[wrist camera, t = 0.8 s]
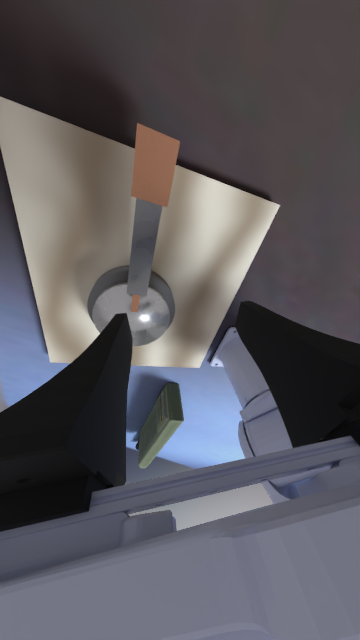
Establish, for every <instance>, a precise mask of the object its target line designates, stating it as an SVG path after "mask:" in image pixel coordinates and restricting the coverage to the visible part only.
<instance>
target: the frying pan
mask: <svg viewBox="0 0 360 640" xmlns="http://www.w3.org/2000/svg"><path fill="white" fill-rule="evenodd" d="M179 145H180V141H178V140H176V139H173V138H171V137H169V136H166V135H164V134H162V133H160V132H157V131H155V130H153V129H150V128H148V127H146V126H143V125H141V124H139V123H137V131H136V143H135V154H134V166H133V177H132V189H131V196H132V197H135V198H136V205H135V215H134V225H133V235H132V245H131V254H130V264H129V274H128V281H121V282H117V283H114V284H112V285H110V286H108V287H107V288H105V289H104V290H103V291H102V292H101V293H100V295H99V296H98V298H97V300H96V302H95V305H94V307H93V311H92V318H93V322H94V325H95V327H96V329H97V330H98V331H99V332H100V333H101V332H102V331H103V329H104V328H105V327H106V326H107V324H108V323H109V322H110V321H111V319H112V318H113V317H114V316H115V314H119V313H127V317H128V321H129V325H130V329H131V334H132V338H133V346H142V345H146V344H149V343H151V342H153V341H155V340H157V339H158V338H160V337H161V336H162V335H163V334H164V333H165V331H166V330H167V328H168V325H169V322H170V312H169V307H168V304H167V301H166V299H165V298H164V296H163V295H162V294H161V293H160V292H159V291H158V290H157V289H156V288H154V287H153V286H151V285H149V280H150V274H151V268H152V263H153V257H154V251H155V246H156V240H157V234H158V229H159V223H160V217H161V212H162V206H164V207H168V203H169V197H170V192H171V187H172V182H173V176H174V171H175V166H176V161H177V155H178V150H179Z"/></svg>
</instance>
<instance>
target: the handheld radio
mask: <svg viewBox="0 0 360 640" xmlns="http://www.w3.org/2000/svg"><path fill="white" fill-rule="evenodd" d="M183 421H184V417H183V410H182V403H181V396H180V389H179V384H178V383H167V384H166V385H165V386H164V388H163V390H162V392H161V393H160V395H159V397H158V399H157V401H156V403H155V405H154V407H153V409H152V410H151V412H150V414H149V416H148V418H147V419H146V421H145V423H144V425H143V427H142V429H141V430H140V439H139V441H138V443H137V444H136V449H137V450H139V458H138V464H139V466H140V468H146V467H147V466H148V465H149V464H150V463H151V461H152V460H153V459H154V457H155V456H156V455H157V454H158V453H159V451H160V450H161V449H162V447H163V446H164V445H165V444H166V442H167V441H168V440H169V439H170V437H171V436H172V435H173V433H174V432H175V431H176V430H177V428H178V427H179V426H180V425H181V423H182V422H183Z"/></svg>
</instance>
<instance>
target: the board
mask: <svg viewBox="0 0 360 640" xmlns="http://www.w3.org/2000/svg"><path fill="white" fill-rule="evenodd" d="M0 147H1V151H2V156H3V160H4V164H5V169H6V173H7V177H8V181H9V186H10V190H11V194H12V199H13V203H14V207H15V212H16V216H17V220H18V225H19V229H20V233H21V237H22V242H23V246H24V250H25V255H26V259H27V263H28V268H29V272H30V276H31V280H32V285H33V289H34V293H35V298H36V302H37V306H38V311H39V315H40V319H41V324H42V328H43V332H44V336H45V341H46V345H47V349H48V354H49V358H50V362H57V363H72V362H73V361H74V360H75V359H76V358H77V357H78V356H79V355H80V354H82V353H83V352H84V351H85V350H86V349H87V348H88V346H89V345H90V344H91V343H92V342H93V341H94V340H95V339H96V338H97V337H98V335H99V334H100V332H99V331H98V330H97V329H96V327H95V325H94V322H93V318H92V311H93V307H94V305H95V302H96V300H97V298H98V296H99V295H100V293H101V292H102V291H103V290H104V289H105V288H107V287H108V286H110V285H112V284H114V283H117V282H121V281H128V274H129V264H130V254H131V245H132V235H133V225H134V215H135V205H136V198H135V197H132V196H131V189H132V177H133V166H134V154H135V149H134V148H131V147H129V146H126V145H124V144H121V143H119V142H116V141H113V140H111V139H108V138H106V137H103V136H101V135H98V134H95V133H93V132H90V131H88V130H85V129H83V128H80V127H77V126H75V125H72V124H70V123H67V122H65V121H62V120H59V119H57V118H54V117H52V116H49V115H46V114H44V113H41V112H39V111H36V110H34V109H31V108H28V107H26V106H23V105H21V104H18V103H16V102H13V101H10V100H8V99H5V98H3V97H0ZM279 207H280V205H278V204H275V203H273V202H270V201H268V200H265V199H263V198H260V197H257V196H255V195H252V194H250V193H247V192H245V191H242V190H239V189H237V188H234V187H232V186H229V185H227V184H224V183H221V182H219V181H216V180H214V179H211V178H209V177H206V176H203V175H201V174H198V173H196V172H193V171H191V170H188V169H185V168H183V167H180V166H178V165H176V166H175V171H174V176H173V182H172V187H171V192H170V197H169V203H168V207H164V206H162V212H161V217H160V223H159V229H158V234H157V240H156V246H155V251H154V257H153V263H152V268H151V274H150V280H149V285H151V286H153V287H154V288H156V289H157V290H158V291H159V292H160V293H161V294H162V295H163V296H164V298H165V299H166V301H167V304H168V307H169V312H170V322H169V325H168V328H167V330H166V331H165V333H164V334H163V335H162V336H161V337H160V338H158V339H157V340H155V341H153V342H151V343H149V344H146V345H142V346H133V350H132V360H131V365H137V366H163V367H190V368H199V367H200V365H201V363H202V361H203V359H204V357H205V355H206V353H207V351H208V349H209V347H210V345H211V343H212V341H213V339H214V337H215V335H216V333H217V331H218V329H219V327H220V325H221V323H222V321H223V319H224V317H225V315H226V313H227V311H228V309H229V307H230V305H231V303H232V301H233V299H234V297H235V295H236V293H237V291H238V289H239V287H240V285H241V283H242V281H243V279H244V277H245V275H246V273H247V271H248V269H249V267H250V265H251V263H252V261H253V259H254V257H255V255H256V253H257V251H258V249H259V247H260V245H261V243H262V241H263V239H264V237H265V235H266V233H267V231H268V229H269V227H270V225H271V223H272V221H273V219H274V217H275V215H276V213H277V211H278V209H279Z"/></svg>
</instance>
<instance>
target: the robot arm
mask: <svg viewBox="0 0 360 640" xmlns="http://www.w3.org/2000/svg"><path fill="white" fill-rule="evenodd" d="M132 350H133V338H132V334H131V329H130V325H129V321H128V317H127V313H119V314H115V316H114V317H113V318H112V319H111V321H110V322H109V323H108V324H107V326H106V327H105V328H104V329H103V331H102V332H101V333H100V334H99V335H98V337H97V338H96V339H95V340H94V341H93V342H92V343H91V344H90V345H89V346H88V348H87V349H86V350H85V351H84V352H83V353H82V354H80V355H79V356H78V357H77V358H76V359H75V360H74V361H73V362H72V363H70V364H69V365H68V366H67V367H66V368H64V369H63V370H62V371H60V372H59V373H58V374H57V375H55V376H54V377H53V378H52V379H50V380H49V381H48V382H46V383H45V384H43V385H42V386H41V387H39V388H38V389H36V390H35V391H33V392H32V393H30V394H29V395H28V396H26V397H25V398H23V399H21V400H20V401H18V402H17V403H15V404H14V405H12V406H10V407H9V408H7V409H5V410H4V411H2V412H1V413H0V640H360V344H358V343H354V342H350V341H347V340H343V339H340V338H337V337H333V336H330V335H327V334H324V333H321V332H318V331H316V330H313V329H310V328H308V327H305V326H303V325H300V324H298V323H296V322H294V321H291V320H289V319H287V318H285V317H283V316H281V315H279V314H276V313H274V312H272V311H270V310H268V309H266V308H264V307H262V306H260V305H258V304H256V303H254V302H251V301H245V302H241V304H240V308H239V312H238V317H237V321H236V325H235V327H230V328H229V329H228V330H227V332H226V334H225V336H224V338H223V340H222V342H221V343H220V345H219V347H218V349H217V351H216V353H215V354H214V356H213V358H212V360H211V362H210V365H211V366H220V367H224V368H225V370H226V373H227V375H228V377H229V379H230V382H231V384H232V386H233V388H234V390H235V393H236V395H237V397H238V399H239V402H240V404H241V406H242V408H243V410H241V411H240V415H241V417H242V419H243V420H242V421H240V422H239V428H238V437H239V442H240V445H241V448H242V451H243V453H244V456H245V458H246V459H241V460H237V461H232V462H227V463H223V464H218V465H214V466H209V467H204V468H200V469H195V470H191V471H186V472H182V473H177V474H172V475H168V476H164V477H159V478H154V479H150V480H145V481H140V482H136V483H131V484H127V485H124V484H125V482H126V409H127V389H128V381H129V374H130V367H131V360H132ZM257 483H262V485H263V487H264V488H265V490H266V491H267V493H268V495H269V496H270V498H271V500H272V502H273V503H274V504H272V505H269V506H265V507H261V508H257V509H254V510H250V511H246V512H243V513H239V514H236V515H232V516H228V517H225V518H222V519H218V520H214V521H211V522H207V523H204V524H200V525H197V526H193V527H190V528H186V529H183V530H179V531H176V520H175V518H174V517H173V516H172V512H171V511H170V510H166V511H159V512H152V513H145V514H140V515H135V516H131V517H130V516H129V515H128V514H132V513H136V512H140V511H144V510H148V509H153V508H156V507H160V506H165V505H169V504H174V503H178V502H182V501H186V500H190V499H194V498H198V497H203V496H207V495H211V494H215V493H219V492H223V491H228V490H232V489H236V488H240V487H244V486H249V485H253V484H257Z"/></svg>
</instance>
